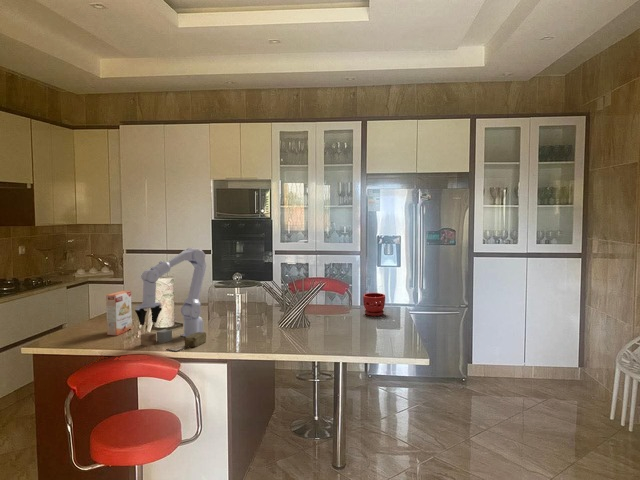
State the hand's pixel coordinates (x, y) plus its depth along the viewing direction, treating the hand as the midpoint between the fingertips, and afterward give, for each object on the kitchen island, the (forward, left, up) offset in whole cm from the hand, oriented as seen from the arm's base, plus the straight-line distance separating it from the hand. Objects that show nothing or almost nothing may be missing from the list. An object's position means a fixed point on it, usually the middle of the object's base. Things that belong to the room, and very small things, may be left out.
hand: (148, 323), depth 237 cm
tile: (-1, +18, -10) cm, 20 cm away
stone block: (-11, +20, -10) cm, 25 cm away
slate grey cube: (-8, +2, -10) cm, 13 cm away
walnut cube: (0, 0, -10) cm, 10 cm away
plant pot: (-111, +67, -10) cm, 130 cm away
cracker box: (-8, -31, -10) cm, 34 cm away
